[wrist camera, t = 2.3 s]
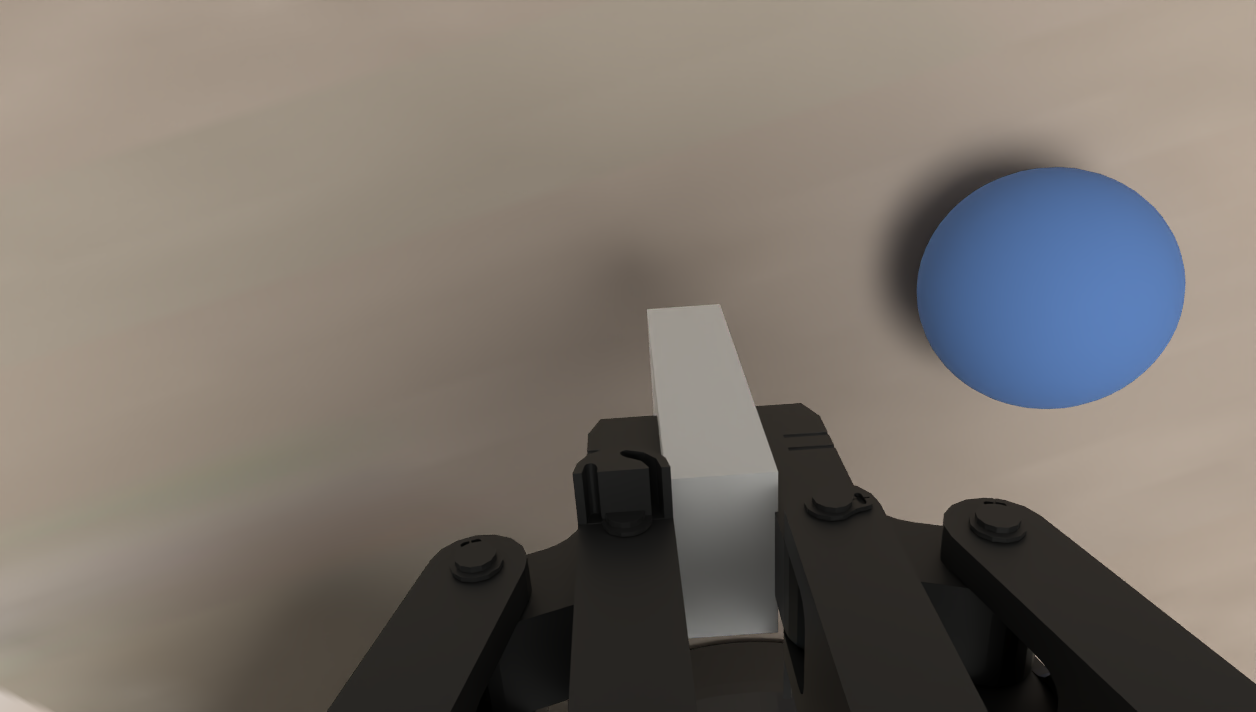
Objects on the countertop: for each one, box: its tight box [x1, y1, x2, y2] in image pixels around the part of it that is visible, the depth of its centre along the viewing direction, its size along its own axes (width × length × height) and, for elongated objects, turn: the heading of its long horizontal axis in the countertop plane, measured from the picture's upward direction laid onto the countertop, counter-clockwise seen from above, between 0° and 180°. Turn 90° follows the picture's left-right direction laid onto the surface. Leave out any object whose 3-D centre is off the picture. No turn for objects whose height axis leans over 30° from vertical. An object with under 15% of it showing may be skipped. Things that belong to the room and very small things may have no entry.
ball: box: [917, 167, 1185, 409], centre depth 21 cm, size 6×6×6 cm
